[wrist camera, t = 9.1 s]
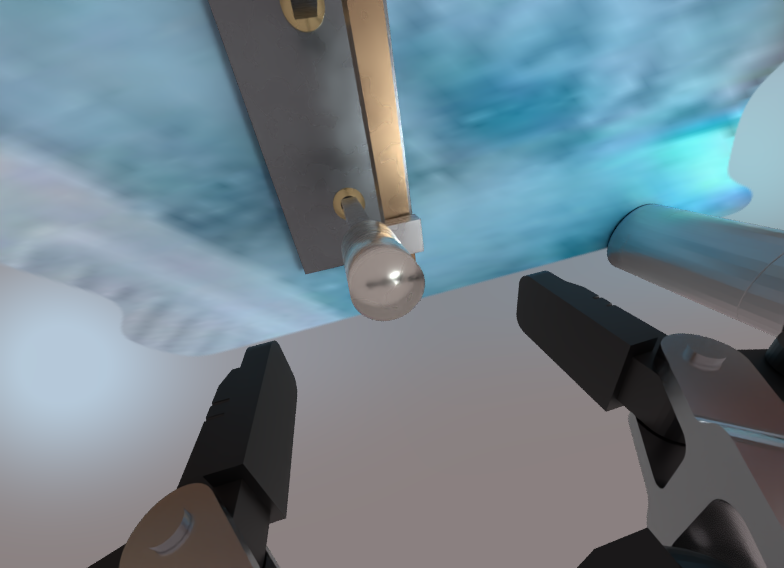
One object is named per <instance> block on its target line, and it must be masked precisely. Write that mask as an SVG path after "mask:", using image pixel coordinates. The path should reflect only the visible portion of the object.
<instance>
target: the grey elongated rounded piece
mask: <svg viewBox="0 0 784 568" xmlns="http://www.w3.org/2000/svg"><path fill="white" fill-rule="evenodd" d="M341 203H342V207H343V211H344V215H345V218H346V221H347V224H348V227H349V230H348V231H347V232H346V234H345V236H344V237H343V240H342V245H341V251H342V257H343V261H344V266H345V271H346V276H347V281H348V286H349V291H350V296H351V300H352V303H353V305H354V306H355V308H356V309H357V310H358V311H359V312H360V313H361V314H362V315H364V316H365V317H367V318H370V319H372V320H377V321H389V320H394V319H397V318H399V317H402V316H404V315H406V314H407V313H409V312H410V311H411V310H412V309H413V308H414V307H415V306H416V305H417V304H418V302H419V301H420V299H421V297H422V295H423V292H424V287H425V279H424V275H423V272H422V270H421V268H420V267H419V265H418V264H417V263H416V261H415V260H414V259H413V258H412V256H411V255H410V254H413V253H418V252H422V251H424V247H423V238H422V229H421V219H420V218H419V217H417V216H416V215H415V214H411V215H407V216H403V217H398V218H394V219H389V220H385V221H381V222H378V221H373V220H370V218H369V217H368V215H367V214H366V212H365V210H364V209H363V207H362V206H361V204H360V203H359V201H358V199H357V198H356V196H355V197H351V198H346V199H341Z"/></svg>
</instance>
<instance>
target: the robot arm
mask: <svg viewBox="0 0 784 568" xmlns="http://www.w3.org/2000/svg"><path fill="white" fill-rule="evenodd" d="M607 256H608V260H609V262H610V263H611V264H612V265H614V266H615V267H617V268H620V269H622V270H624V271H626V272H629V273H631V274H633V275H635V276H638V277H640V278H642V279H644V280H647V281H649V282H651V283H653V284H656V285H658V286H660V287H663V288H665V289H667V290H670V291H672V292H674V293H676V294H679V295H681V296H683V297H685V298H688V299H690V300H692V301H695V302H697V303H699V304H701V305H704V306H706V307H708V308H710V309H713V310H715V311H717V312H720V313H722V314H724V315H727V316H729V317H731V318H734V319H736V320H738V321H740V322H743V323H745V324H747V325H750V326H752V327H754V328H757V329H759V330H761V331H763V332H766V333H768V334H770V335H773V336H775V337H777V338H776V339H775V340H774V342H773V343H772V345H771V346H770V347H769V349H759V350H757V349H755V350H736V349H734V348H732V347H731V346H729V345H726V344H724V343H722V342H719V341H717V340H714V339H711V338H708V337H703V336H700V335H694V334H685V333H684V334H683V333H682V334H681V333H680V334H679V333H678V334H671V335H666V334H664V333H663V332H660V331H659V330H657V329H656V328H654V327H652V326H650V325H649V324H647V323H645V322H643V321H642V320H640V319H638V318H637V317H635V316H633V315H631V314H630V313H628V312H626V311H624V310H623V309H621V308H619V307H617V306H615V305H612V304H611V303H610V302H609V301H607V300H605V299H603V298H599V296H598V295H597V294H595V293H593V292H591V291H589V290H588V289H586V288H584V287H582V286H579V285H576V284H573V283H569V282H566V281H564V280H562V279H561V278H559V277H557V276H556V275H554V274H552V273H550V272H549V271H542V272H538V273H534V274H530V275H526V276H523V277H522V278H521V279H520V282H519V292H518V302H517V321H518V324H519V326H520V328H521V329H522V330H523V332H525V334H526V335H527V336H528V337H529V338H531V339H532V340H533V341H534V342H535V343H536V344H537V345H538V346H539V347H540V348H541V349H542V350H543V351H544V352H545V353H546V354H547V355H548V356H549V357H550V358H551V359H552V360H553V361H554V362H555V363H556V364H557V365H559V366H560V368H562V369H563V370H564V371H565V372H566V373H567V374H568V375H569V376H570V377H571V378H572V379H573V380H574V381H575V382H576V383H577V384H578V385H579V386H580V387H581V388H583V390H584V391H585V392H586V393H587V394H588V395H589V396H590V397H591V398H593V399H594V400H595V401H596V402H597V403H598V404H599V405H600V406H601V407H602V408H603V409H604V410H605V411H609V410H612V409H615V408H618V407H621V406H625V407H626V408H627V409H628V410H629V411H630V413H629V415H628V422H629V426H630V430H631V433H632V437H633V441H634V445H635V449H636V452H637V456H638V460H639V463H640V467H641V471H642V475H643V478H644V482H645V485H646V489H647V494H648V511H647V528H645V529H643V530H640V531H638V532H635V533H633V534H631V535H628V536H625V537H623V538H621V539H618V540H616V541H613V542H611V543H608V544H606V545H603V546H601V547H598V548H596V549H594V550H593V551H592V552H591V554H589V556H588V557H587V558H586V559H585V560H584V561H583V562H582V563H581V564H580V565H579V566H578V567H577V568H784V230H780V229H775V228H770V227H765V226H760V225H755V224H750V223H745V222H740V221H735V220H730V219H725V218H721V217H716V216H711V215H706V214H701V213H696V212H691V211H687V210H682V209H677V208H672V207H667V206H662V205H657V204H648V205H644V206H642V207H639V208H637V209H636V210H634V211H633V212H631V213H630V214H629V215H628V216H626V217H625V218H624V219H623V220H622V222H621V223H620V224H619V225H618V226H617V228H616V229H615V231H614V232H613V234H612V236H611V238H610V241H609V244H608V249H607ZM296 402H297V386H296V381H295V378H294V375H293V373H292V371H291V369H290V366H289V364H288V362H287V360H286V358H285V356H284V354H283V352H282V350H281V348H280V346H279V344H278V343H277V341H271V342H267V343H263V344H259V345H256V346H252V347H249V348H247V350H246V352H245V355H244V358H243V361H242V364H241V367H240V368H236V369H233V370H231V372H230V373H229V374H228V375H227V377H226V378H225V379H224V380H223V381H222V383H221V384H220V385H219V387H218V389H217V392H216V394H215V397H214V399H213V401H212V406H211V407H210V409H209V411H208V414H207V416H206V422H204V424H203V426H202V429H201V431H200V434H199V436H198V438H197V441H196V443H195V446H194V448H193V451H192V453H191V455H190V458H189V461H188V463H187V465H186V468H185V470H184V473H183V475H182V478H181V480H180V482H179V485H178V487H177V489H176V490H175V491H173V492H171V493H170V494H168V495H167V496H165V497H164V498H163V499H161V500H160V501H159V502H158V503H157V504H156V505H155V506H153V507H152V508H151V509H150V510H149V511H148V513H147V514H146V515H145V516H144V517H143V518H142V519H141V521H140V522H139V523H138V525H137V526H136V528H135V529H134V531H133V532H132V534H131V535H130V537H129V539H128V541H127V543H126V544H125V545H123V546H121V547H120V548H118V549H117V550H115V551H113V552H112V553H110V554H109V555H107V556H105V557H104V558H102V559H101V560H99V561H97V562H96V563H94V564H93V565H91V566H89V567H88V568H280V567H279V565H278V563H277V561H276V560H275V558H274V557H273V555H272V553H271V551H270V550H269V548H268V547H267V546H266V543H267V535H268V529H269V524H270V523H273V522H276V521H279V520H282V519H285V518H286V512H287V501H288V491H289V480H290V469H291V458H292V446H293V434H294V425H295V414H296Z"/></svg>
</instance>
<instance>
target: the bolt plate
mask: <svg viewBox="0 0 784 568" xmlns="http://www.w3.org/2000/svg"><path fill="white" fill-rule="evenodd" d="M208 2H209V4H210V7H211V10H212V13H213V16H214V18H215V21H216V24H217V27H218V30H219V32H220V35H221V38H222V41H223V44H224V47H225V49H226V52H227V55H228V58H229V61H230V63H231V66H232V69H233V72H234V75H235V77H236V80H237V83H238V86H239V89H240V91H241V94H242V97H243V100H244V103H245V105H246V108H247V111H248V114H249V117H250V120H251V122H252V125H253V128H254V131H255V134H256V136H257V139H258V142H259V145H260V148H261V150H262V153H263V156H264V159H265V162H266V164H267V167H268V170H269V173H270V176H271V179H272V181H273V184H274V187H275V190H276V193H277V195H278V198H279V201H280V204H281V207H282V209H283V212H284V215H285V218H286V221H287V223H288V226H289V229H290V232H291V235H292V237H293V240H294V243H295V246H296V249H297V252H298V254H299V257H300V260H301V263H302V266H303V268H304V271H305V274H309V273H313V272H317V271H321V270H326V269H330V268H334V267H338V266H342V265H344V261H343V257H342V251H341V245H342V240H343V237H344V236H345V234H346V232H347V231H348V230H349V227H348V224H347V221H346V218H345V215H344V211H343V207H342V203H341V199H346V198H351V197H355V196H356V198H357V199H358V201H359V203H360V204H361V206H362V207H363V209H364V210H365V212H366V214H367V215H368V217H369V218H370V220H373V221H378V222H381V221H385V220H389V219H394V218H398V217H403V216H407V215H411V214H412V209H411V201H410V192H409V184H408V176H407V168H406V159H405V151H404V143H403V135H402V126H401V118H400V110H399V102H398V93H397V85H396V77H395V69H394V60H393V52H392V44H391V36H390V27H389V19H388V11H387V3H386V0H208ZM410 255H411V256H412V258H413V259H414V260H415V253H413V254H410ZM415 261H416V260H415Z"/></svg>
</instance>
